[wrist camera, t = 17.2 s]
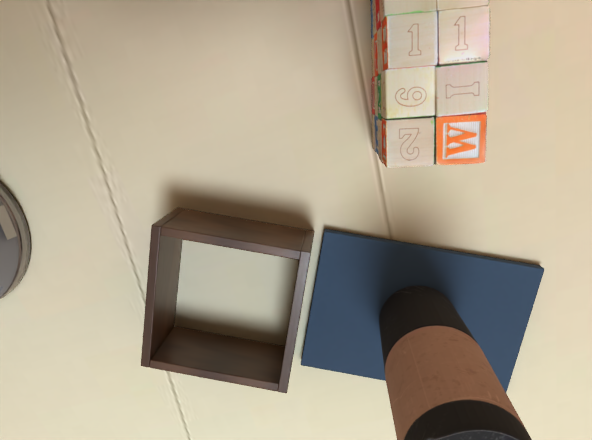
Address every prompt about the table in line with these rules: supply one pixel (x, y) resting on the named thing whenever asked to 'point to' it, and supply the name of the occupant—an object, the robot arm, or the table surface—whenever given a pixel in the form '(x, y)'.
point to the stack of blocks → (430, 81)
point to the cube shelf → (208, 346)
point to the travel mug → (440, 373)
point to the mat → (403, 273)
